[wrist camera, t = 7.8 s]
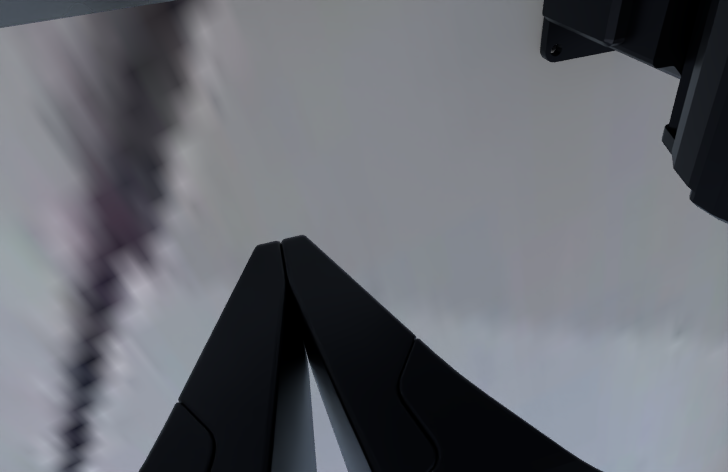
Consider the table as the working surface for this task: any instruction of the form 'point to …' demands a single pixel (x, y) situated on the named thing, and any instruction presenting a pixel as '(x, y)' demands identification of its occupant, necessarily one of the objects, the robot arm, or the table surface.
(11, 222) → the table surface
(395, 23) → the table surface
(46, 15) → the cooler plate
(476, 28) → the table surface
